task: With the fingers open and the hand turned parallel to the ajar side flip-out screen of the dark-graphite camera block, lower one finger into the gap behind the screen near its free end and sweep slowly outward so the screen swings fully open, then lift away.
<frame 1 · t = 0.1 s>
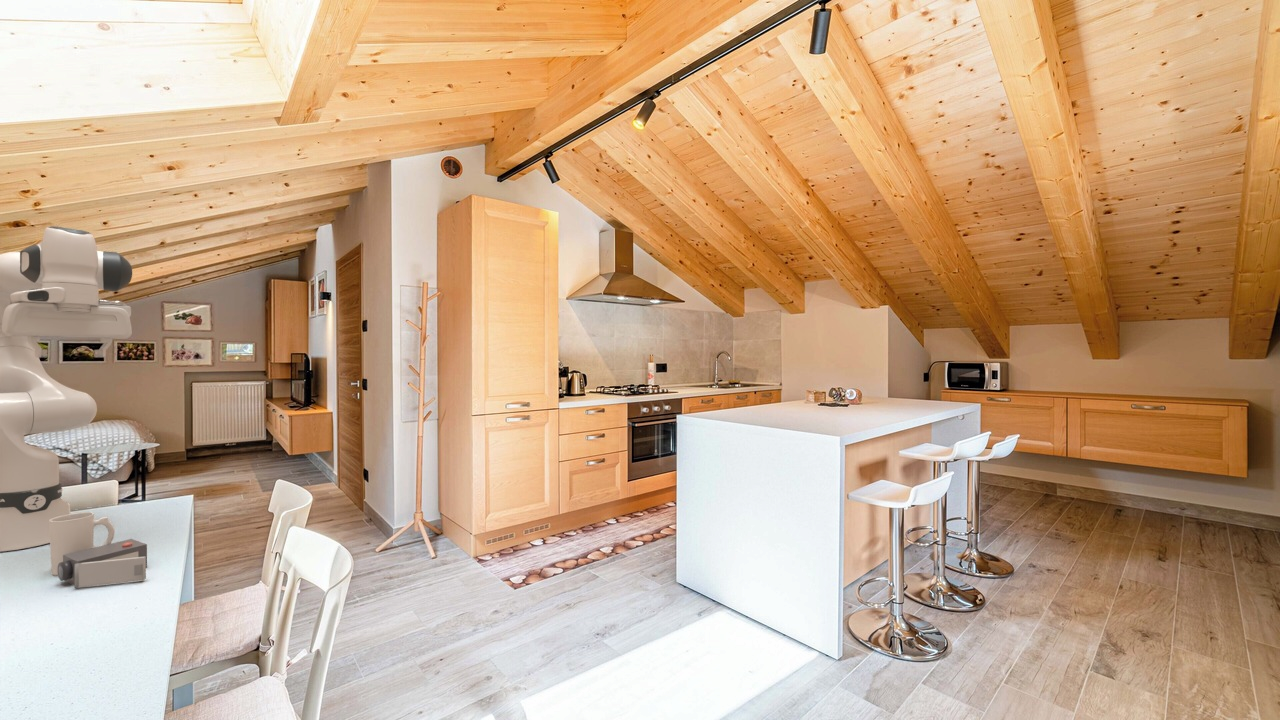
hand: (71, 357, 119), 48 cm above the table, fingers open, 8 cm apart
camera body: (106, 573, 113), on the table
side flip-out screen: (110, 572, 108), point 3 cm above the table, hinge at 45.0°
mug: (83, 568, 117), on the table
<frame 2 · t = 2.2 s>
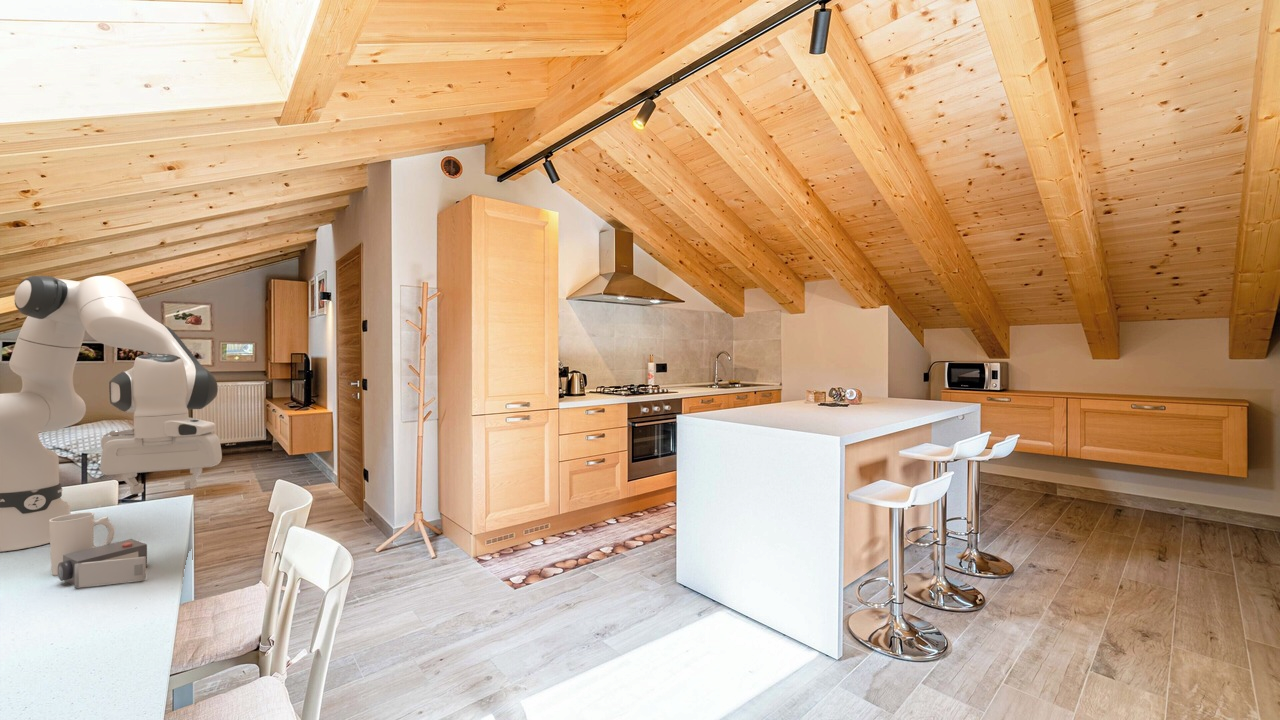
hand: (164, 490, 113), 18 cm above the table, fingers open, 8 cm apart
nothing on the table moved.
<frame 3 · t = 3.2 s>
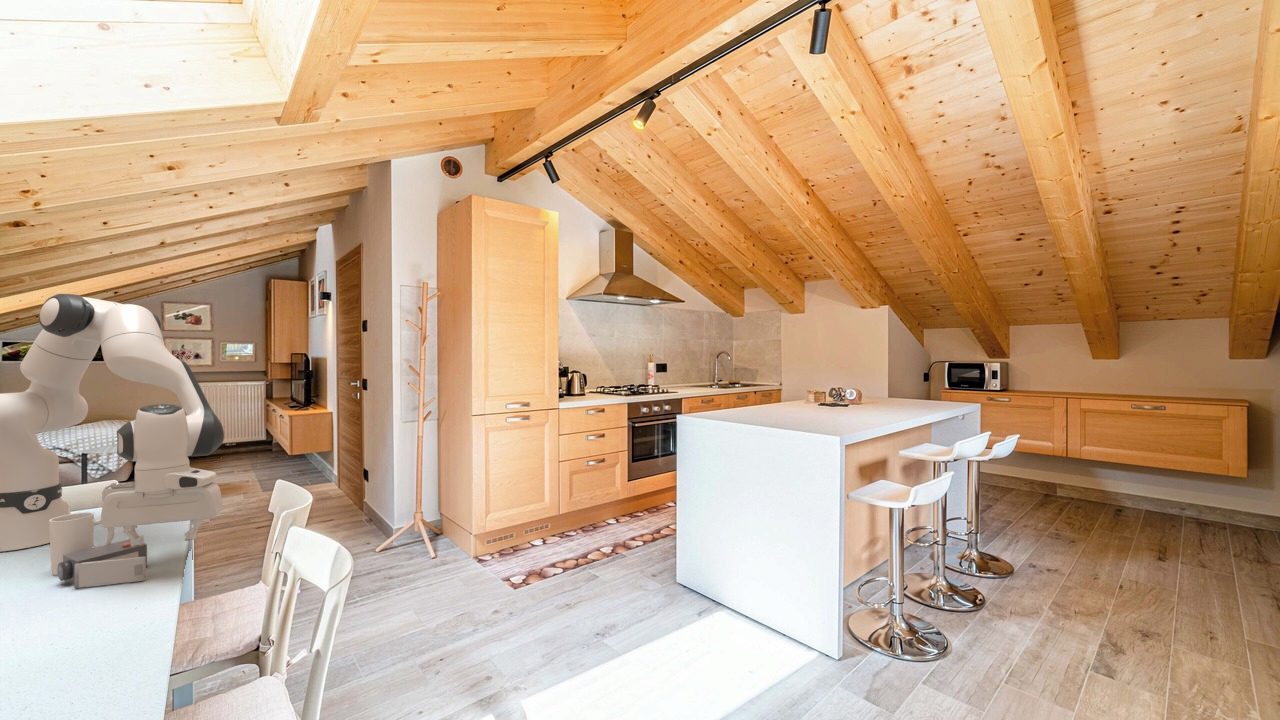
hand: (164, 542, 112), 7 cm above the table, fingers open, 8 cm apart
nothing on the table moved.
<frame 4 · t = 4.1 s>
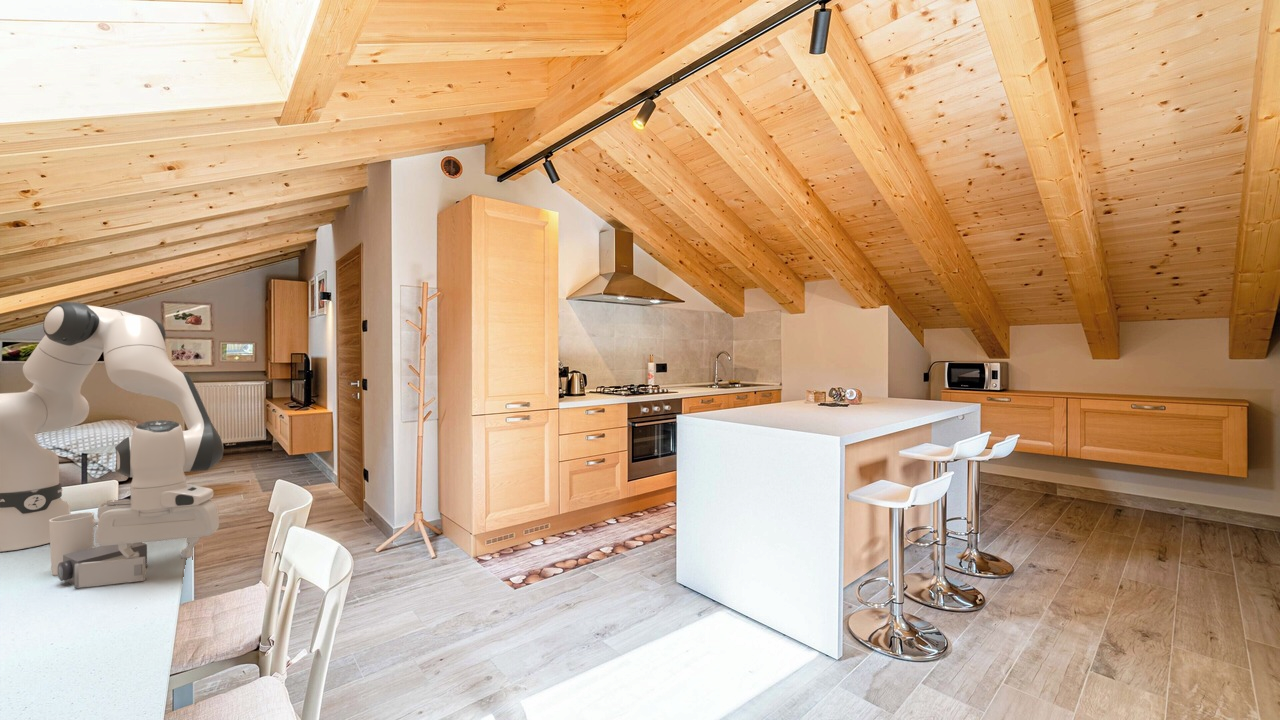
hand: (160, 560, 111), 4 cm above the table, fingers open, 8 cm apart
side flip-out screen: (109, 572, 108), point 3 cm above the table, hinge at 45.6°, touching gripper
everything else where it was.
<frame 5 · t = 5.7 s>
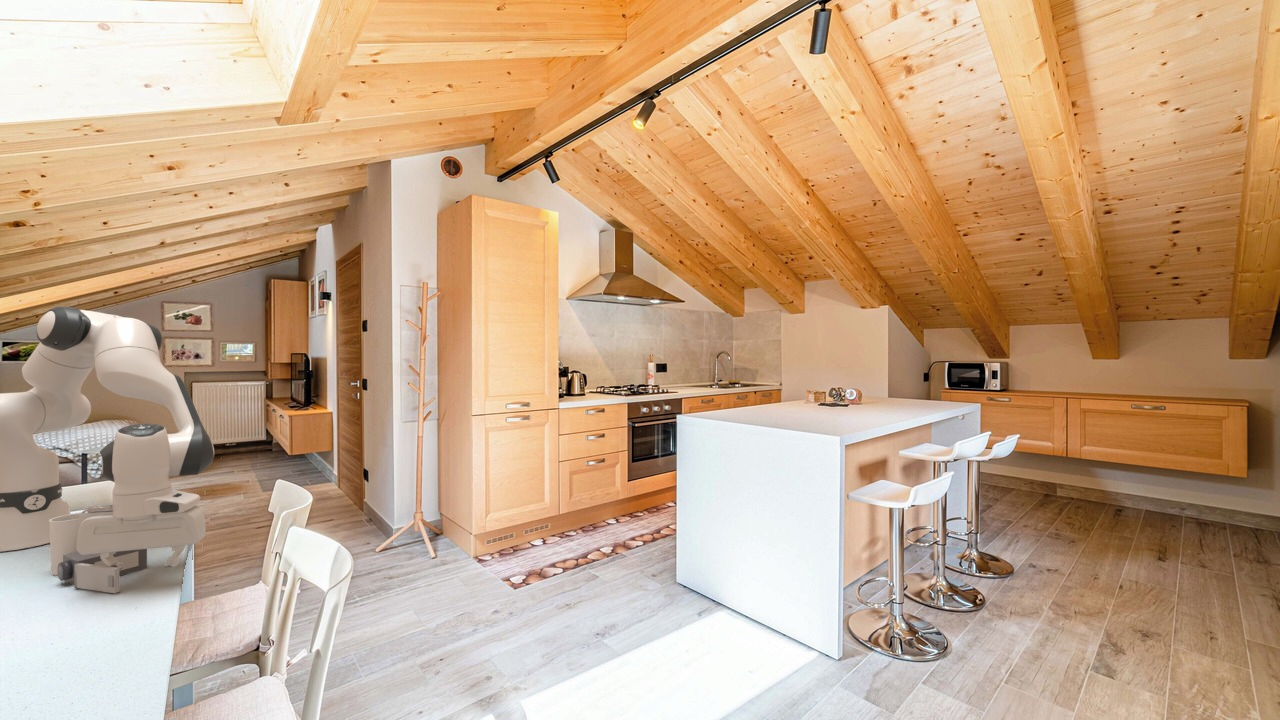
hand: (144, 569, 107), 4 cm above the table, fingers open, 8 cm apart
side flip-out screen: (95, 578, 105), point 3 cm above the table, hinge at 76.7°, touching gripper
everything else where it was.
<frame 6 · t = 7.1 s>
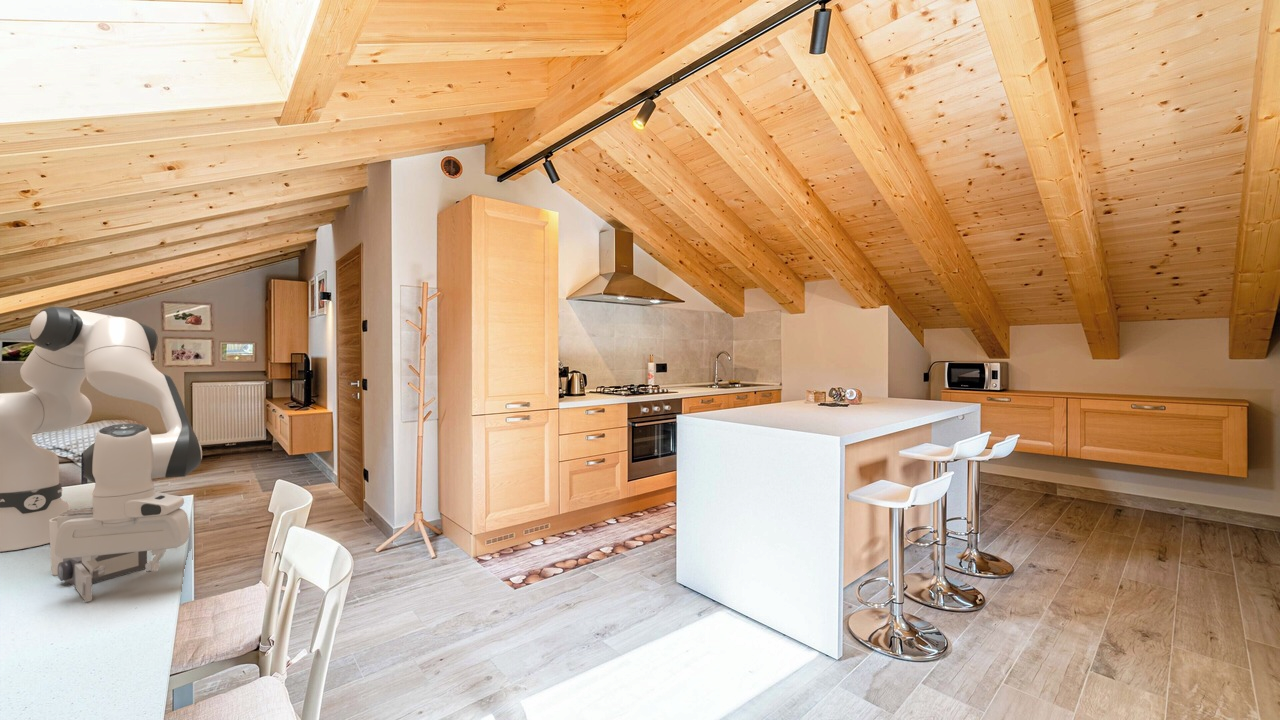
hand: (125, 573, 104), 4 cm above the table, fingers open, 7 cm apart
side flip-out screen: (82, 581, 103), point 3 cm above the table, hinge at 98.3°, touching gripper
everything else where it was.
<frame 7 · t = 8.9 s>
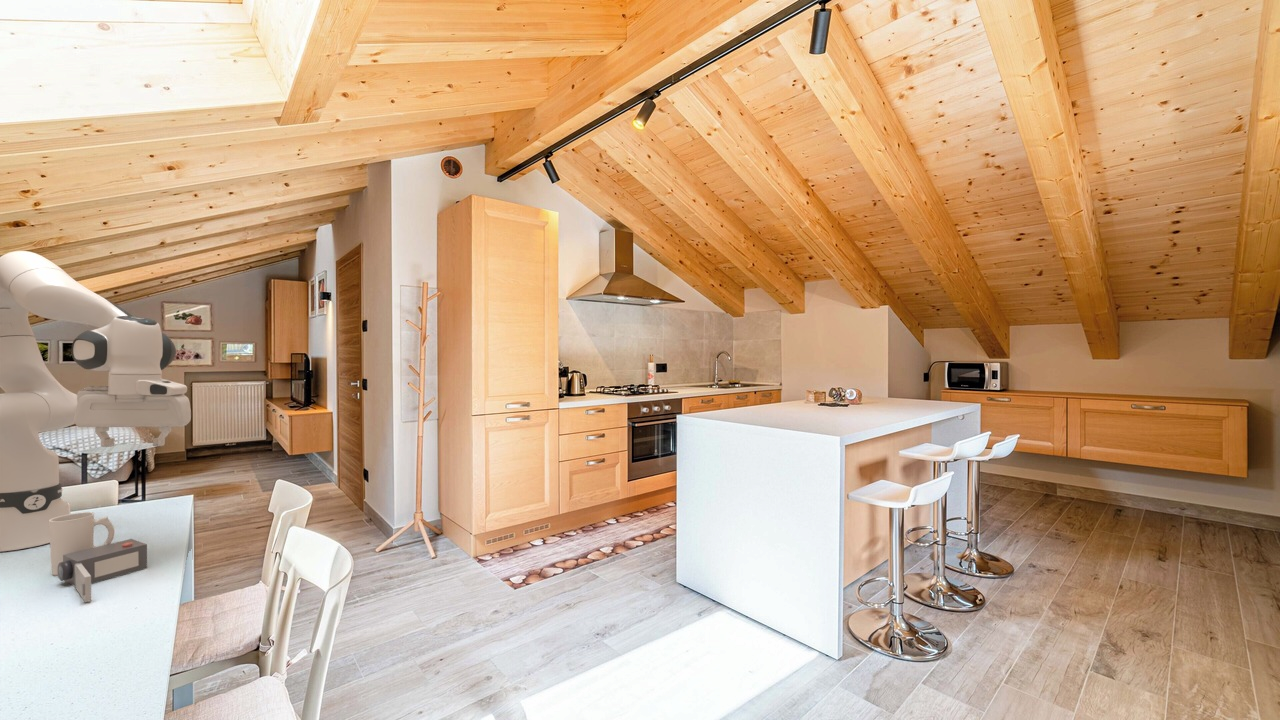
hand: (133, 446, 119), 27 cm above the table, fingers open, 8 cm apart
side flip-out screen: (82, 581, 103), point 3 cm above the table, hinge at 98.6°
everything else where it was.
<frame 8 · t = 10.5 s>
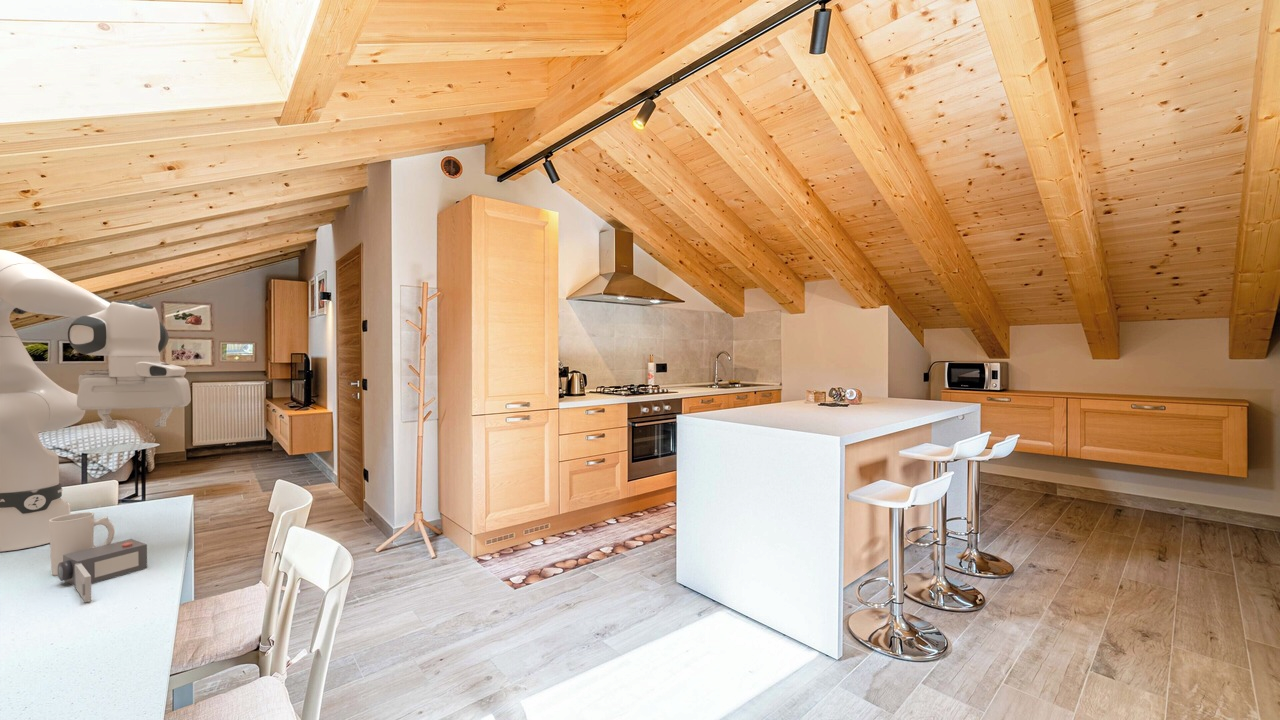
hand: (136, 427, 122), 31 cm above the table, fingers open, 8 cm apart
nothing on the table moved.
at the end: side flip-out screen at +99° (first picture: +45°); side flip-out screen touching nothing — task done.
